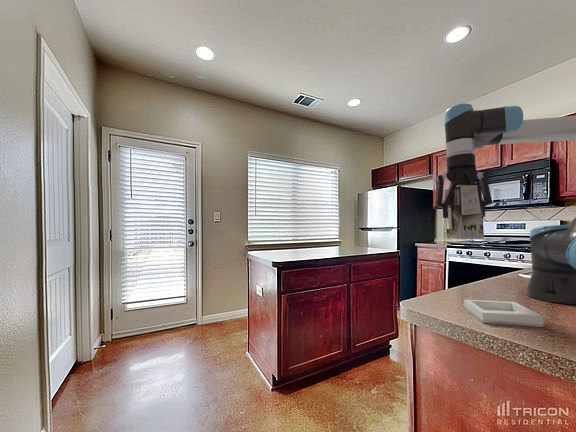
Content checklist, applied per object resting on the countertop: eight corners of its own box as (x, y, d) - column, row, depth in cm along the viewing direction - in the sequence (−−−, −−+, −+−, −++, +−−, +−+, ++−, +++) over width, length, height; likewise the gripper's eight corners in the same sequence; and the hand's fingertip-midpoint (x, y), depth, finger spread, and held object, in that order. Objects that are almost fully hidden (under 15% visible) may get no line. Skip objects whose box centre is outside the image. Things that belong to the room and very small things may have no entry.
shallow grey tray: (514, 311, 74) (514, 301, 74) (543, 327, 62) (542, 316, 62) (464, 308, 77) (464, 299, 77) (482, 322, 65) (482, 312, 65)
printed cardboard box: (485, 239, 77) (482, 184, 78) (462, 239, 78) (460, 184, 78) (465, 237, 86) (463, 188, 87) (445, 238, 87) (443, 189, 87)
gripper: (493, 155, 84) (497, 227, 83) (422, 161, 90) (425, 229, 89) (504, 148, 77) (509, 228, 76) (427, 155, 83) (430, 229, 82)
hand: (464, 228), depth 82 cm, fingers closed on printed cardboard box, 7 cm apart
